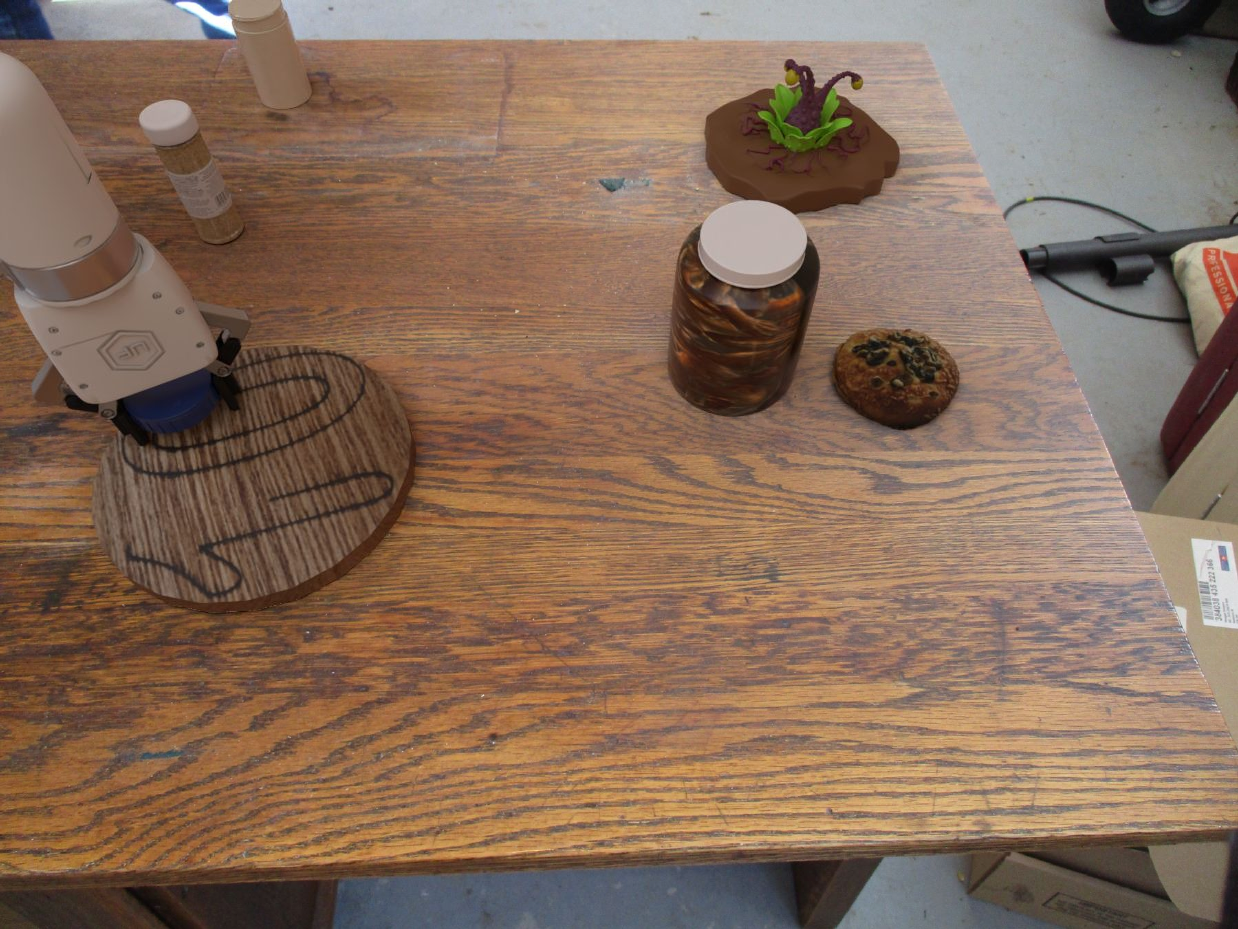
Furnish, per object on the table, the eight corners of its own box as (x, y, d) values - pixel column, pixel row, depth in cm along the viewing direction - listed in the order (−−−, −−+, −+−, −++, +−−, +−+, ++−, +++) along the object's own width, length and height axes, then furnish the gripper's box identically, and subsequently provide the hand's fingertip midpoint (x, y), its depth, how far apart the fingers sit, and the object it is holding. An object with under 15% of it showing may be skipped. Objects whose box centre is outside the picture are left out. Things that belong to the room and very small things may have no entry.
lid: (238, 380, 69) (229, 366, 67) (185, 445, 65) (175, 431, 64) (168, 358, 70) (158, 343, 69) (113, 419, 67) (101, 405, 65)
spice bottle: (220, 211, 87) (162, 92, 76) (254, 225, 86) (201, 105, 75) (189, 238, 85) (125, 118, 73) (224, 252, 84) (164, 133, 72)
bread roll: (877, 448, 70) (890, 405, 66) (803, 369, 77) (812, 326, 73) (981, 408, 73) (999, 364, 69) (901, 336, 80) (914, 293, 76)
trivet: (458, 534, 66) (454, 522, 64) (126, 669, 59) (113, 659, 58) (367, 325, 78) (362, 310, 76) (85, 417, 72) (73, 404, 70)
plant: (672, 132, 95) (678, 35, 86) (814, 88, 100) (834, -8, 91) (767, 238, 85) (786, 142, 76) (919, 183, 90) (954, 86, 81)
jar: (811, 407, 73) (852, 281, 60) (681, 424, 72) (695, 299, 59) (775, 311, 79) (805, 178, 67) (655, 325, 78) (663, 193, 66)
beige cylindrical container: (250, 95, 99) (214, 4, 90) (291, 74, 101) (261, -17, 92) (280, 115, 96) (247, 24, 88) (322, 93, 99) (294, 2, 90)
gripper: (-68, 335, 51) (86, 491, 65) (219, 242, 55) (302, 407, 70) (-78, 260, 54) (70, 424, 69) (193, 179, 59) (277, 348, 74)
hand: (186, 414), depth 69 cm, fingers closed on lid, 6 cm apart
